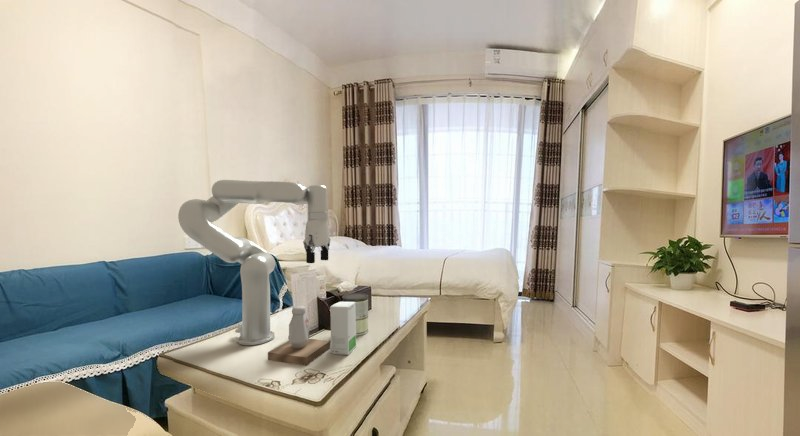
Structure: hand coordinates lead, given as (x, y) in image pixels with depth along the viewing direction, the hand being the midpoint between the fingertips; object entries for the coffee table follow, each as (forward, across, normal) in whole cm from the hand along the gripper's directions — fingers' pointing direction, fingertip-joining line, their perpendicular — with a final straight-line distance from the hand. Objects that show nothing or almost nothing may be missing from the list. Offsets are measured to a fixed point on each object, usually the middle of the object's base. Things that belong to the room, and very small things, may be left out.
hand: (317, 261), depth 121 cm
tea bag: (+29, +5, -5) cm, 29 cm away
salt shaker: (+26, +17, +4) cm, 31 cm away
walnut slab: (+28, +17, +4) cm, 33 cm away
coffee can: (+28, -8, +12) cm, 32 cm away
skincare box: (+28, +10, +16) cm, 34 cm away
